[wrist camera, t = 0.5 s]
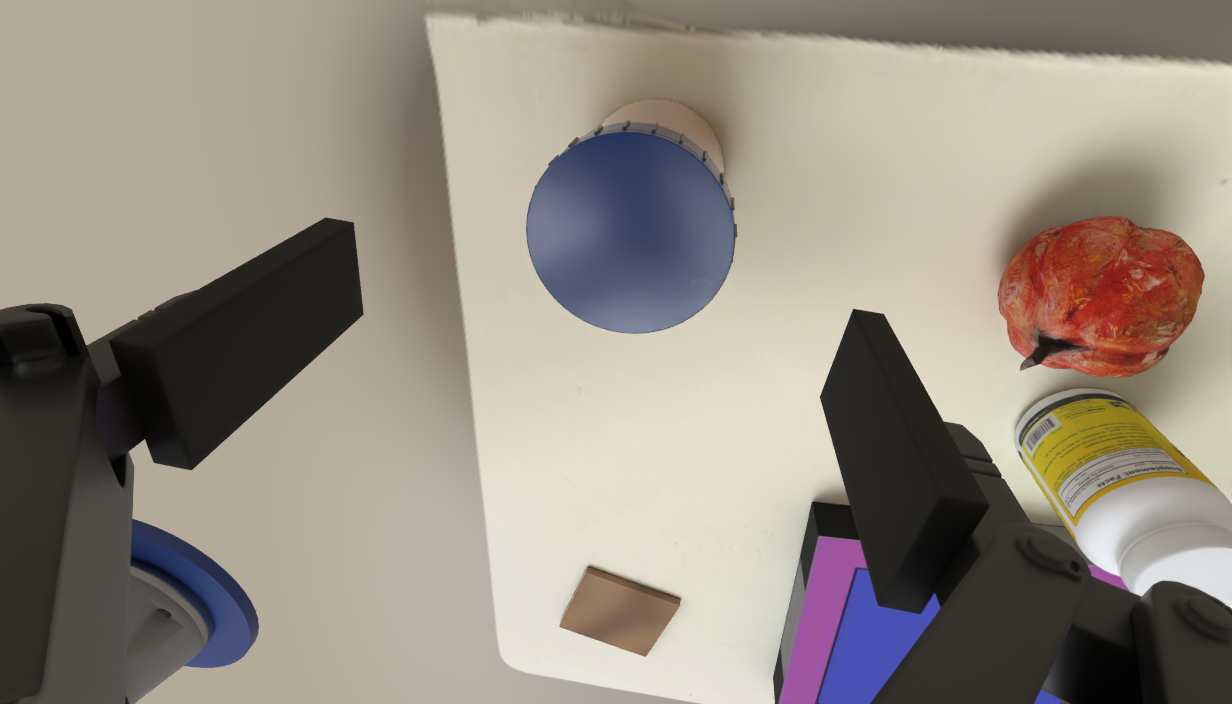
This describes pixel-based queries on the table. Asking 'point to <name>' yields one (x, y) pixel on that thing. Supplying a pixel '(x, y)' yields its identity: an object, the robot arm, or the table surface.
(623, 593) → the cork mat
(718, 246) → the lid
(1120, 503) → the pill bottle
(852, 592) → the book
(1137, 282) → the pomegranate
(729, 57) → the table surface
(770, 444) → the table surface
